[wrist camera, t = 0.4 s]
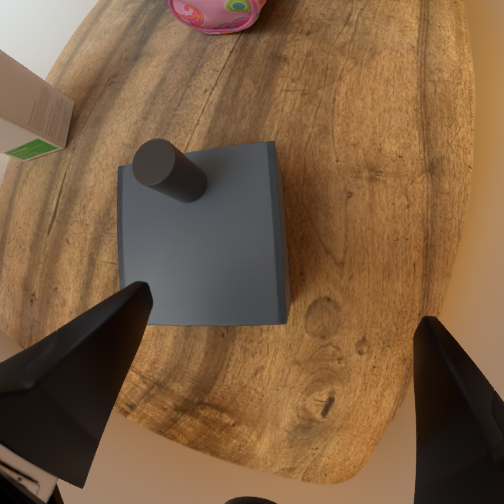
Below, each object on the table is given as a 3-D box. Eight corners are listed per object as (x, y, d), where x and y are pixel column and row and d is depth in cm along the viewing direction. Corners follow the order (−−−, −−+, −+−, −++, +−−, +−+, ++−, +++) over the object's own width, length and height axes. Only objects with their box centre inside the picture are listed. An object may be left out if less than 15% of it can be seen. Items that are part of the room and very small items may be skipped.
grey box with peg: (281, 349, 11) (264, 101, 11) (77, 339, 13) (74, 145, 13) (290, 304, 22) (282, 174, 23) (168, 307, 24) (163, 188, 24)
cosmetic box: (25, 162, 28) (-70, 132, 12) (35, 116, 28) (-49, 75, 12) (68, 148, 26) (-42, 101, 11) (78, 97, 26) (-14, 37, 11)
